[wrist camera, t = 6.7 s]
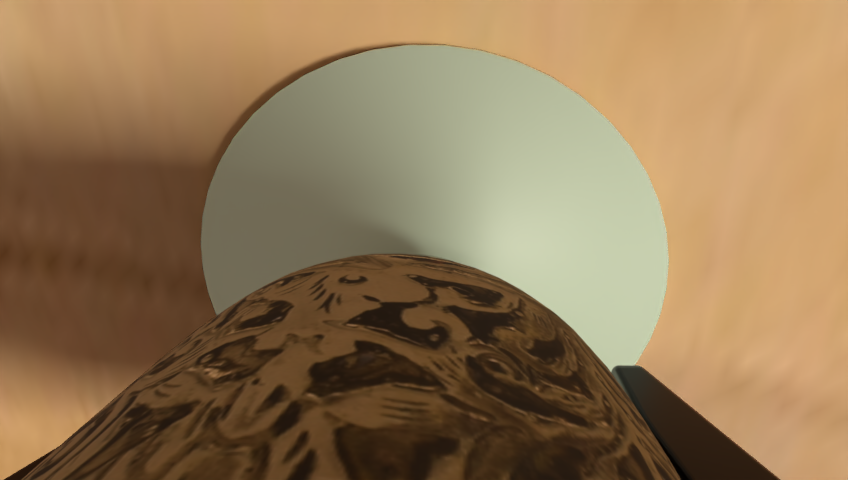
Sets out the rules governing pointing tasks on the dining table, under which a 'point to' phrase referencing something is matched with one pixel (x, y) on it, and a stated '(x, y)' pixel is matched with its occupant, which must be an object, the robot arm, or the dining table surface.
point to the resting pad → (444, 187)
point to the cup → (372, 389)
